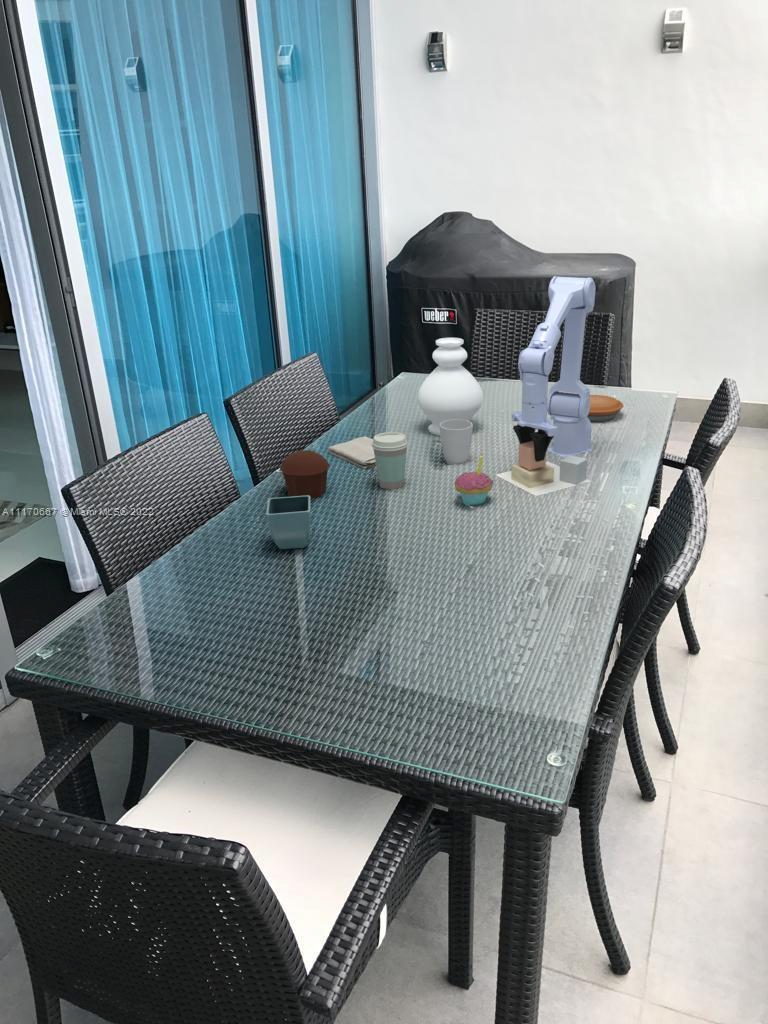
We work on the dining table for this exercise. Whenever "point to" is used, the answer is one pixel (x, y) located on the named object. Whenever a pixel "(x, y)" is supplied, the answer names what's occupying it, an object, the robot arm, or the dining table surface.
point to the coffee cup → (390, 458)
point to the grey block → (573, 469)
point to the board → (546, 487)
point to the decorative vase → (449, 387)
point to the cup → (456, 440)
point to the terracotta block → (529, 456)
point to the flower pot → (289, 521)
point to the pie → (603, 408)
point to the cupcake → (474, 486)
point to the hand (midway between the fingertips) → (533, 457)
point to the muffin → (305, 473)
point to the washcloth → (356, 452)
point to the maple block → (532, 475)
